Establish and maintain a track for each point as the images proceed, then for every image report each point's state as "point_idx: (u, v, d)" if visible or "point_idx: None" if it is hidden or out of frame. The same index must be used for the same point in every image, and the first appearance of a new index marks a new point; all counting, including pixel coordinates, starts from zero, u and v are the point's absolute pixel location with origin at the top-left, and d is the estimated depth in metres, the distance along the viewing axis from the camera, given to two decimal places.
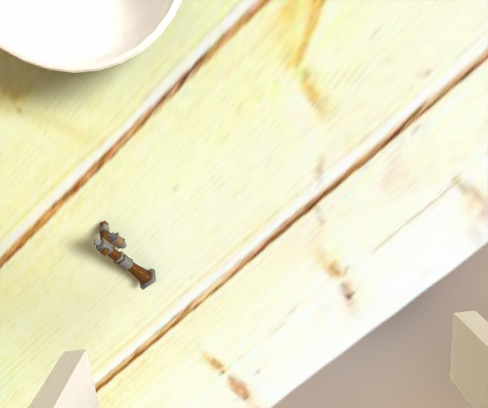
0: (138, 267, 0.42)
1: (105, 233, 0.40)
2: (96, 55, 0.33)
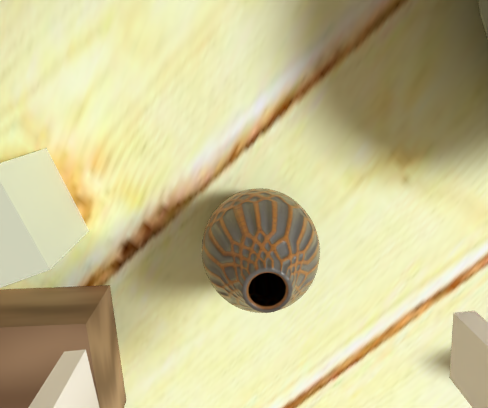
0: None
1: None
2: None
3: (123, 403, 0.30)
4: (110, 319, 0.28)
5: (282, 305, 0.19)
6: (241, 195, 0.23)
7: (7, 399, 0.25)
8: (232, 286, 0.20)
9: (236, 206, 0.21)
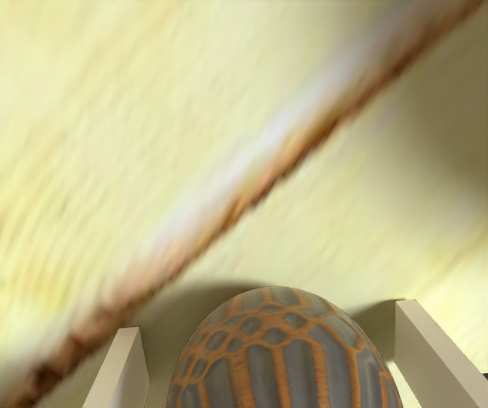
0: None
1: None
2: None
3: None
4: None
5: None
6: (245, 317, 0.11)
7: None
8: None
9: (235, 354, 0.10)
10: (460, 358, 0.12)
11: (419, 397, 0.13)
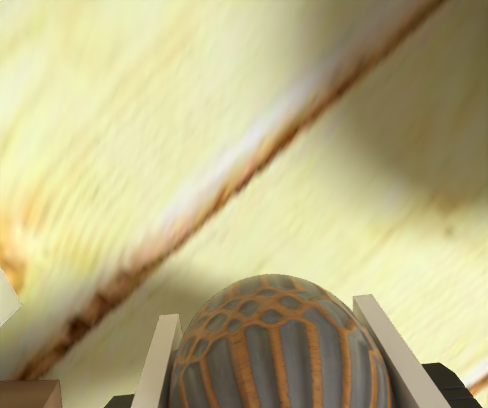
0: None
1: None
2: None
3: None
4: None
5: None
6: (243, 301, 0.12)
7: None
8: None
9: (234, 334, 0.11)
10: (402, 349, 0.12)
11: None
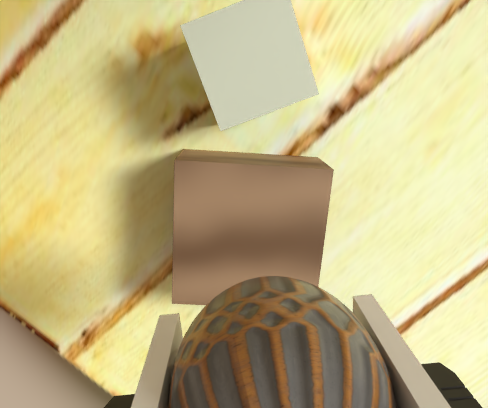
0: None
1: None
2: None
3: None
4: None
5: None
6: (243, 303, 0.12)
7: (239, 241, 0.26)
8: None
9: (234, 336, 0.10)
10: (403, 349, 0.12)
11: None
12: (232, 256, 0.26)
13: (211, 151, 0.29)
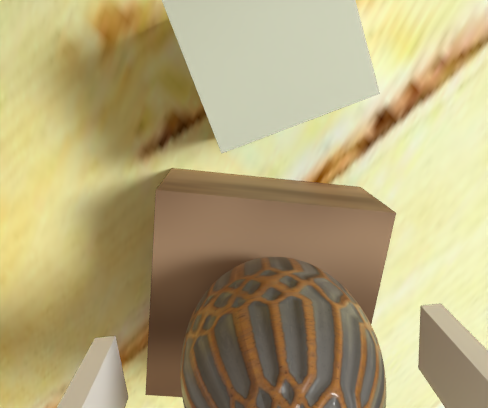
0: None
1: None
2: None
3: None
4: None
5: None
6: (246, 281, 0.13)
7: None
8: None
9: (238, 309, 0.12)
10: None
11: (448, 406, 0.13)
12: None
13: (211, 173, 0.20)
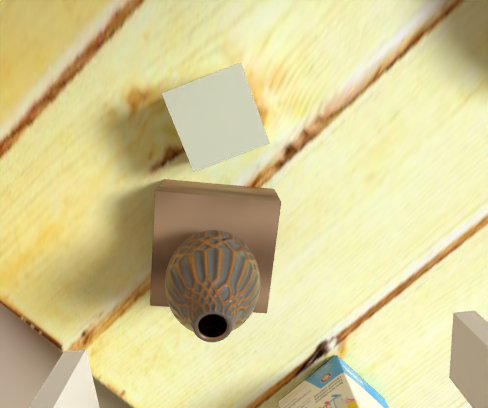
0: None
1: None
2: None
3: None
4: None
5: (225, 336, 0.24)
6: (195, 241, 0.28)
7: None
8: (187, 321, 0.25)
9: (190, 253, 0.26)
10: None
11: None
12: None
13: (187, 181, 0.35)
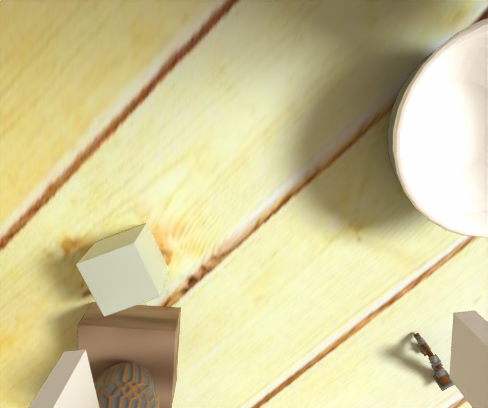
0: None
1: (427, 347, 0.46)
2: (469, 209, 0.39)
3: None
4: None
5: None
6: None
7: None
8: None
9: None
10: None
11: None
12: None
13: None
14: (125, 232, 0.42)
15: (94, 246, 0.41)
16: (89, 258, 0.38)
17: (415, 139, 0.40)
